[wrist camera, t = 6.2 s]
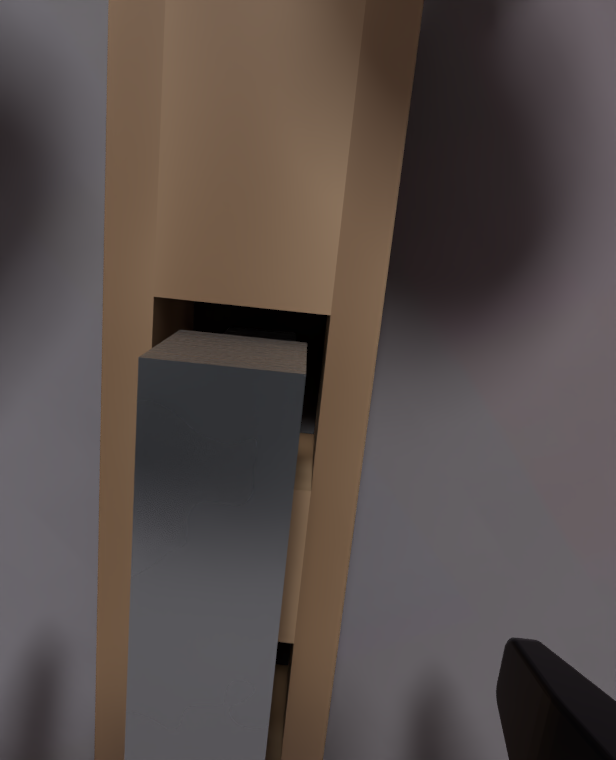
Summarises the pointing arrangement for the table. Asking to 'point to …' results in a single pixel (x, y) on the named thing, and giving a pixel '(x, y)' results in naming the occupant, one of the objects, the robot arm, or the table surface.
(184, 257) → the rail
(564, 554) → the table surface
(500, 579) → the table surface
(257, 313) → the table surface
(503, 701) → the robot arm
